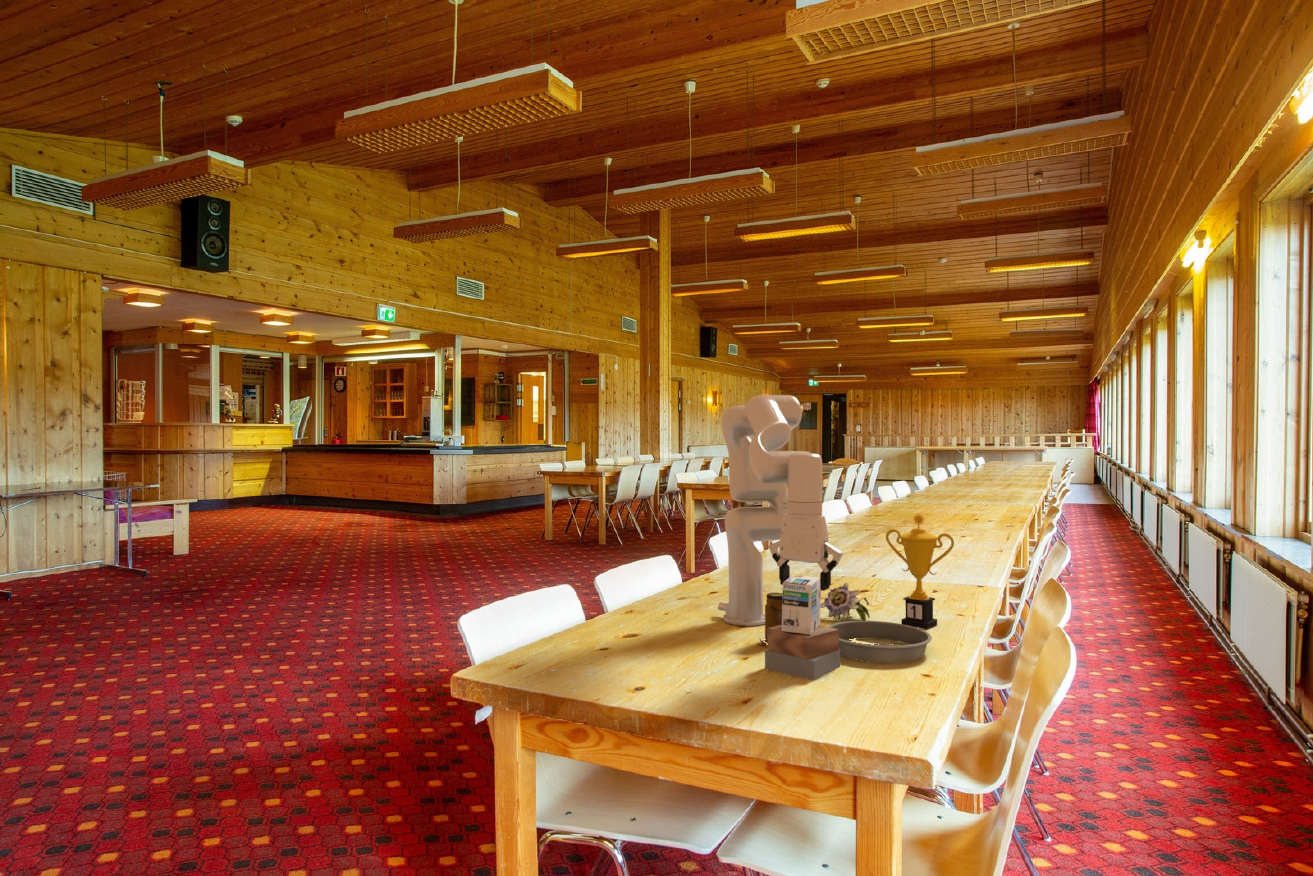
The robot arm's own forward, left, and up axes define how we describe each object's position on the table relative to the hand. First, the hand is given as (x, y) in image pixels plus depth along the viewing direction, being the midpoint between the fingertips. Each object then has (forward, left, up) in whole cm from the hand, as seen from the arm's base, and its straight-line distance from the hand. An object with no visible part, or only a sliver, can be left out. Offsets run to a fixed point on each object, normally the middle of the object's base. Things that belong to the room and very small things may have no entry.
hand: (804, 586), depth 165 cm
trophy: (+7, +53, -18) cm, 57 cm away
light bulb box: (-1, 0, -10) cm, 10 cm away
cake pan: (+7, +23, -18) cm, 30 cm away
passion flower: (-12, +48, -18) cm, 53 cm away
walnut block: (0, 0, -14) cm, 14 cm away
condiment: (-15, +14, -18) cm, 27 cm away
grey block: (0, 0, -18) cm, 18 cm away
